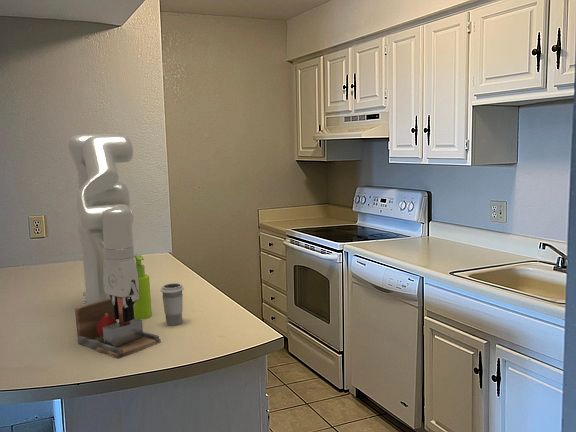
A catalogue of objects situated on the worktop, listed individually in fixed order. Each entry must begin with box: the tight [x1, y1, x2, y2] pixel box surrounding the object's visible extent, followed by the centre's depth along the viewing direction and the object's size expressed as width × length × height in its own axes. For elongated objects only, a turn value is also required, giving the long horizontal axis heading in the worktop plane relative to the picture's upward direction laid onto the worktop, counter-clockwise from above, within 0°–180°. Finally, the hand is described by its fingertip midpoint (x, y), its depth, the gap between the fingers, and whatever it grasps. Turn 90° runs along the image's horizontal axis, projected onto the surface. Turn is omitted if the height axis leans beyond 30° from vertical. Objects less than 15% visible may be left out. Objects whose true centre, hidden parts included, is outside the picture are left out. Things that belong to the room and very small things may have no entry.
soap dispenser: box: [133, 254, 153, 320], centre depth 179 cm, size 6×7×20 cm
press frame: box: [74, 298, 162, 359], centre depth 157 cm, size 20×14×10 cm
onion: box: [97, 313, 118, 339], centre depth 159 cm, size 6×6×8 cm
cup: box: [160, 282, 185, 327], centre depth 172 cm, size 7×7×12 cm
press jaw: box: [102, 297, 144, 347], centre depth 154 cm, size 5×10×15 cm, turn 142°
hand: (124, 318), depth 154 cm, fingers closed on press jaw, 3 cm apart
